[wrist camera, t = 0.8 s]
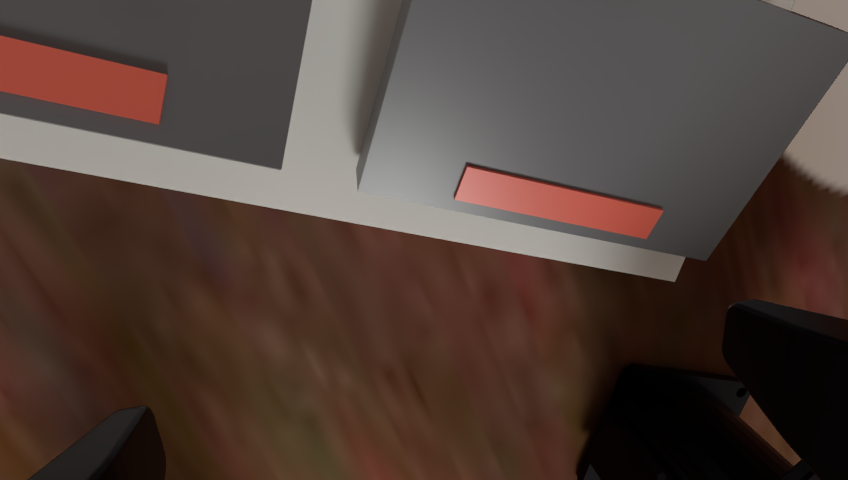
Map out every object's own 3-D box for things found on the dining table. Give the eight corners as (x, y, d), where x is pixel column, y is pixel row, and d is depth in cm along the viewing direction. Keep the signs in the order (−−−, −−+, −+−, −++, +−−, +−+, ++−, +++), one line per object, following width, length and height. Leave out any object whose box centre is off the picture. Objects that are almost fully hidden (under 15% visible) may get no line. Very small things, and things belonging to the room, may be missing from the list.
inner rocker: (829, 25, 15) (867, 40, 14) (686, 238, 19) (708, 263, 18) (434, -119, 12) (445, -114, 11) (355, 169, 16) (357, 194, 15)
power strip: (737, -28, 19) (833, -37, 16) (628, 249, 23) (689, 292, 19) (-184, -375, 13) (-366, -522, 9) (-162, 93, 16) (-292, 116, 12)
